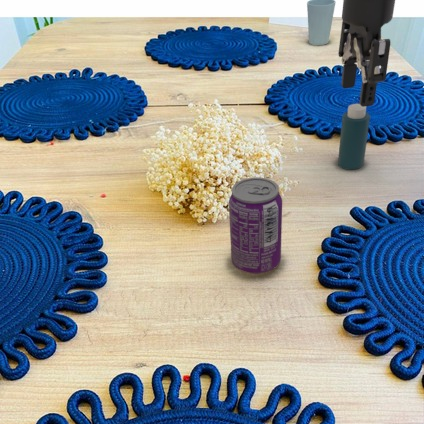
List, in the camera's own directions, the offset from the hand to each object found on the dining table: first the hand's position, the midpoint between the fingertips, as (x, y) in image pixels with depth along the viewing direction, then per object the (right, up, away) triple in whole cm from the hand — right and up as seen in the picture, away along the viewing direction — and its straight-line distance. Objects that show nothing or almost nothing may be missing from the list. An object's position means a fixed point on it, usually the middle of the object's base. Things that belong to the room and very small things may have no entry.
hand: (356, 96), depth 89 cm
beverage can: (-18, -29, -12) cm, 36 cm away
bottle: (+1, -9, +8) cm, 13 cm away
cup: (+6, +40, +63) cm, 75 cm away
